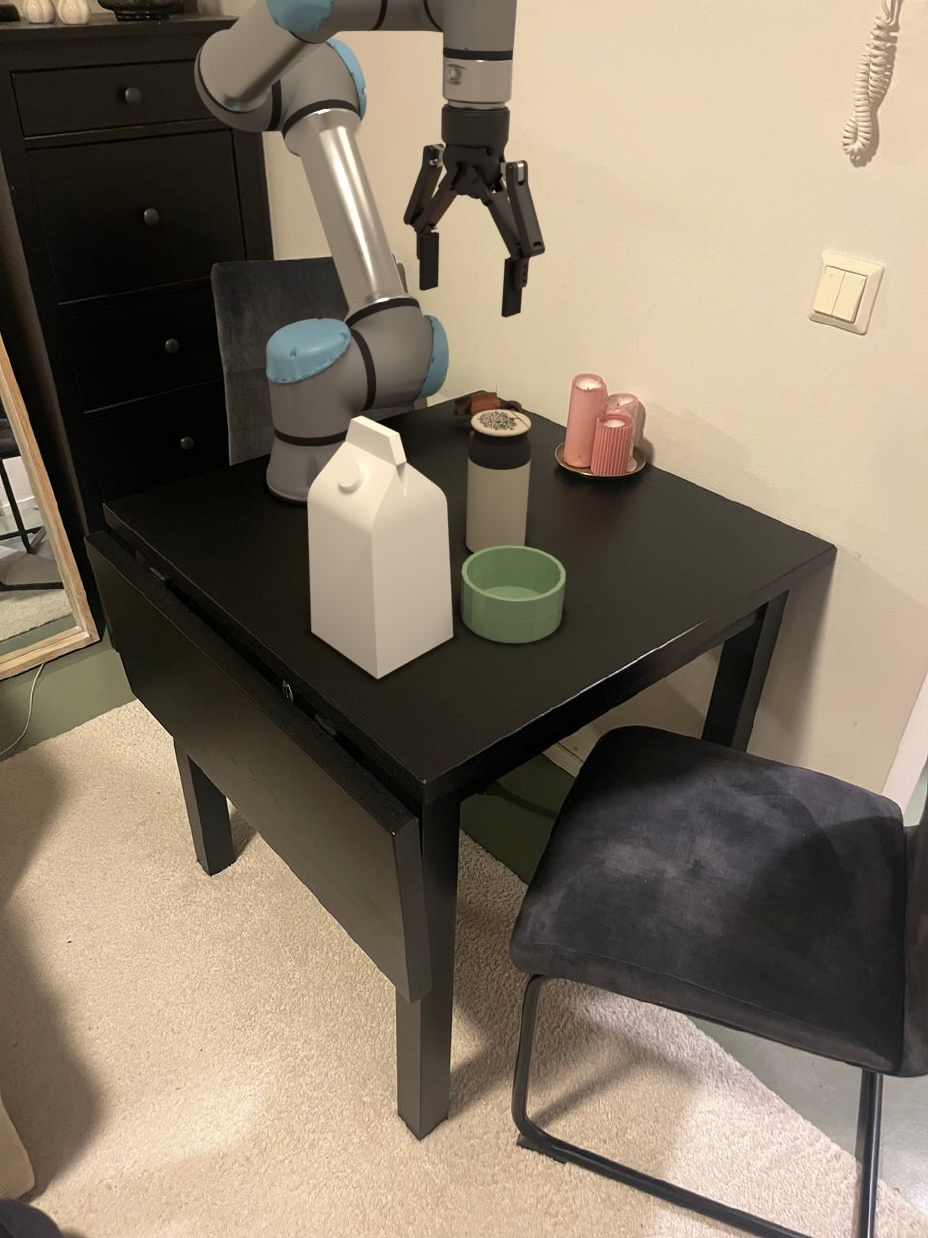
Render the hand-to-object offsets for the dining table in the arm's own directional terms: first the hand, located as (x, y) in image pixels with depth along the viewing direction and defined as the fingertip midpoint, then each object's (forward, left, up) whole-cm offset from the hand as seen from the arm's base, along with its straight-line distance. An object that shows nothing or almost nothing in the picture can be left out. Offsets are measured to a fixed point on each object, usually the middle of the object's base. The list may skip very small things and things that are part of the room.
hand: (468, 301), depth 111 cm
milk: (+12, -27, -31) cm, 43 cm away
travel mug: (+8, -2, -31) cm, 32 cm away
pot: (+20, -13, -31) cm, 39 cm away
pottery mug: (-17, +25, -31) cm, 43 cm away
